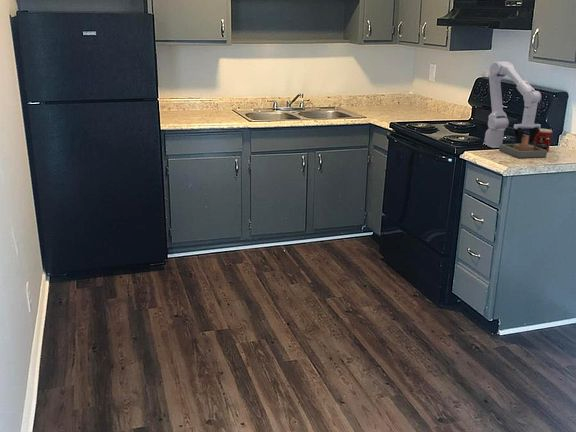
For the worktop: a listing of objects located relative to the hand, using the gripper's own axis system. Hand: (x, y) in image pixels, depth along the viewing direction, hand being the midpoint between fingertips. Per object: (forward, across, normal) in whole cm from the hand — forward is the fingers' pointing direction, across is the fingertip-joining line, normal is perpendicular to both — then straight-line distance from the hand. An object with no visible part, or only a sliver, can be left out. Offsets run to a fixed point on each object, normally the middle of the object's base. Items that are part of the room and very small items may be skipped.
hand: (524, 142), depth 297 cm
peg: (+5, 0, 0) cm, 5 cm away
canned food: (+6, +16, +6) cm, 18 cm away
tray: (+6, 0, 0) cm, 6 cm away
